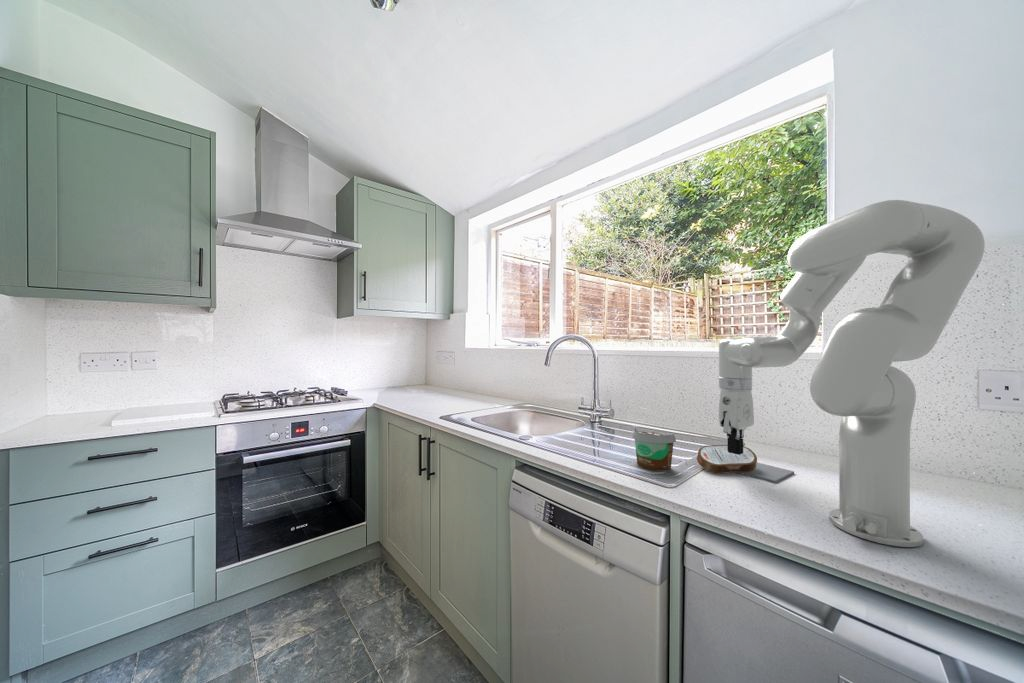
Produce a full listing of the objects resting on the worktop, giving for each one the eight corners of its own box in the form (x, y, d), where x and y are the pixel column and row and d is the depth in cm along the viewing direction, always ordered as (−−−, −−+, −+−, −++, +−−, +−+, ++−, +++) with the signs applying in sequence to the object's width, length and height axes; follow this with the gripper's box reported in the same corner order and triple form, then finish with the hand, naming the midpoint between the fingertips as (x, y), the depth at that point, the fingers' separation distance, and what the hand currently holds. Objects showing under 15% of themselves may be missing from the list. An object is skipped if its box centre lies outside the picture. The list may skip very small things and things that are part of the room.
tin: (762, 471, 97) (746, 451, 105) (764, 461, 96) (747, 442, 104) (704, 473, 99) (692, 453, 106) (705, 464, 98) (692, 444, 105)
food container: (624, 465, 105) (624, 430, 105) (634, 460, 110) (633, 427, 110) (668, 475, 97) (668, 438, 97) (676, 469, 101) (676, 434, 101)
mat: (775, 483, 91) (775, 480, 91) (711, 465, 105) (711, 463, 105) (794, 473, 98) (794, 471, 98) (731, 458, 111) (731, 456, 111)
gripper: (737, 387, 89) (737, 462, 89) (763, 383, 98) (763, 451, 98) (706, 385, 95) (706, 454, 95) (733, 381, 104) (733, 445, 104)
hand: (735, 452), depth 96 cm, fingers closed
